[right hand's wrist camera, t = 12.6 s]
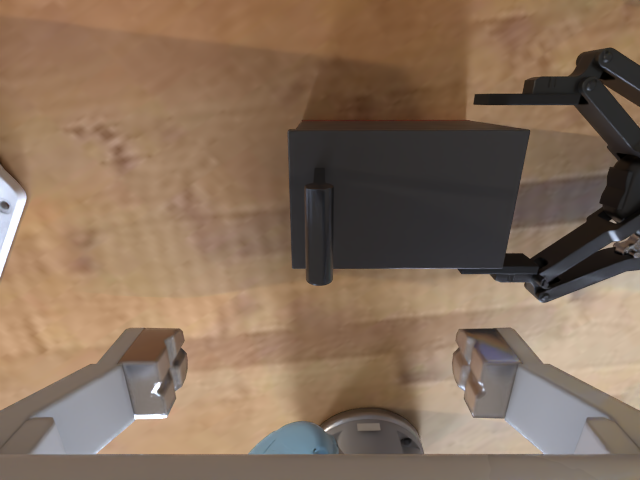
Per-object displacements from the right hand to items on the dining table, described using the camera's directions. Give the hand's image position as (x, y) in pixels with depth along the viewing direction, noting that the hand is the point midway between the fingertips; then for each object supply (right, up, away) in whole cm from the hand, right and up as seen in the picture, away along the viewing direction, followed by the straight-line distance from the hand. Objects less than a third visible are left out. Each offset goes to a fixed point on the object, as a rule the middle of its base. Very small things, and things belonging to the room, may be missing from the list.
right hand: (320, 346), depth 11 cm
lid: (+6, +6, +15) cm, 18 cm away
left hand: (+12, +7, +19) cm, 24 cm away
